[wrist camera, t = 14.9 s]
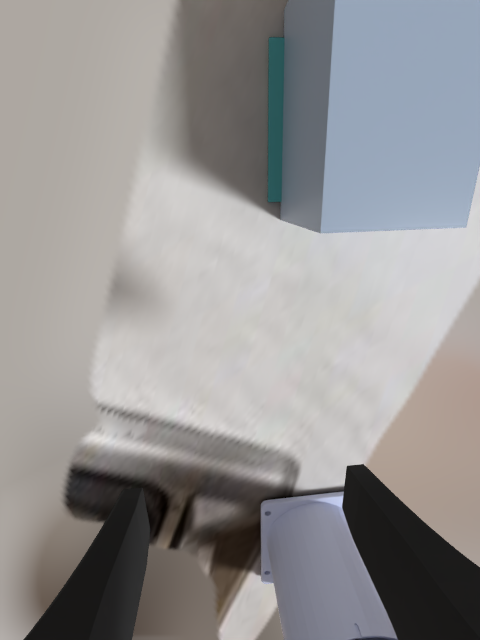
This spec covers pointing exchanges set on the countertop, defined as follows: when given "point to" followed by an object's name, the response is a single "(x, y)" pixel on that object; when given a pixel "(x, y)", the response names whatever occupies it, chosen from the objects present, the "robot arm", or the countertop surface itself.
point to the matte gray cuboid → (380, 114)
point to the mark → (275, 117)
